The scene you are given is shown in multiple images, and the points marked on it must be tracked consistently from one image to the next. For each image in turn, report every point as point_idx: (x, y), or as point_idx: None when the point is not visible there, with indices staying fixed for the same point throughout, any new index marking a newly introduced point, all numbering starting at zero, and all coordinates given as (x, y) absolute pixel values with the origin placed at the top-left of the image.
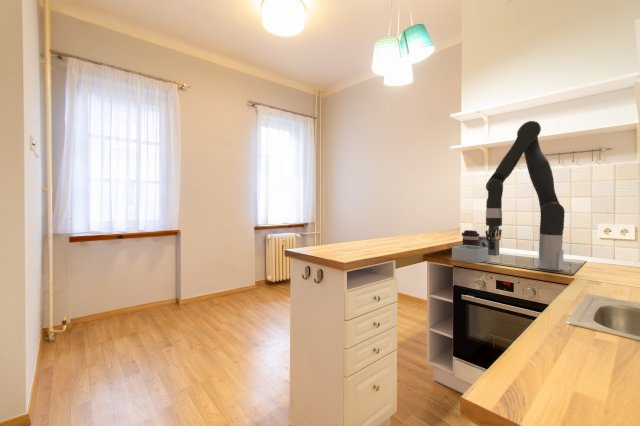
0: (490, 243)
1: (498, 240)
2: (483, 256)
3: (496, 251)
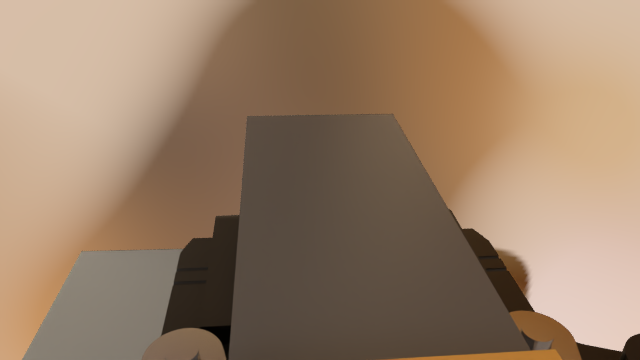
0: None
1: (309, 320)
2: None
3: (381, 148)
